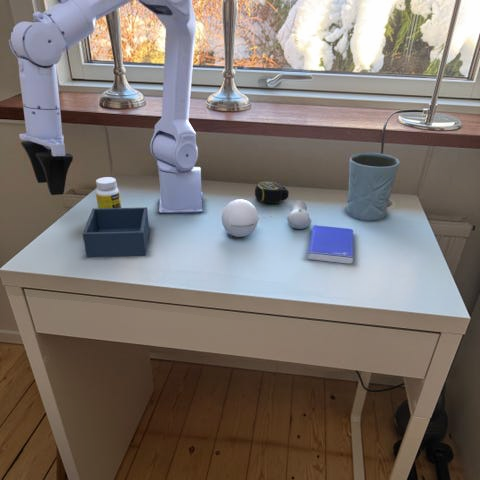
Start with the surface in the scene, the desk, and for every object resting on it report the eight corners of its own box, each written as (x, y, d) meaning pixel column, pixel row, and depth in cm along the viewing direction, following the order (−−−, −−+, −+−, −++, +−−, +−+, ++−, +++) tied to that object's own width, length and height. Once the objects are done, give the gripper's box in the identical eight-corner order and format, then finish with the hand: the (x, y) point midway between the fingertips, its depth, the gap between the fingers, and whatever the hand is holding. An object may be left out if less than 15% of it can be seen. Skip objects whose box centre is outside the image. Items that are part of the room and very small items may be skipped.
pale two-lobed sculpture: (305, 237, 97) (282, 228, 97) (309, 221, 103) (288, 212, 103) (313, 220, 94) (290, 210, 94) (317, 204, 100) (295, 195, 100)
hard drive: (353, 256, 84) (353, 228, 94) (308, 251, 86) (313, 224, 96) (351, 264, 85) (352, 235, 95) (307, 259, 87) (312, 231, 96)
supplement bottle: (117, 224, 97) (111, 185, 93) (96, 222, 98) (89, 182, 93) (126, 215, 101) (121, 177, 96) (106, 213, 102) (100, 175, 97)
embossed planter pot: (396, 220, 102) (408, 165, 95) (353, 224, 100) (363, 168, 93) (374, 203, 110) (384, 151, 103) (334, 206, 108) (342, 153, 101)
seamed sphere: (219, 242, 91) (219, 207, 87) (223, 226, 97) (223, 192, 93) (270, 245, 91) (272, 209, 87) (271, 229, 97) (273, 195, 93)
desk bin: (149, 228, 96) (147, 207, 93) (145, 255, 87) (143, 232, 84) (96, 230, 95) (92, 208, 92) (86, 257, 86) (82, 233, 83)
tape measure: (289, 203, 109) (290, 187, 107) (264, 208, 106) (265, 192, 104) (273, 193, 114) (274, 178, 111) (249, 198, 111) (249, 182, 109)
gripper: (5, 99, 80) (16, 178, 87) (29, 114, 71) (39, 202, 78) (47, 100, 84) (54, 176, 91) (75, 115, 75) (81, 198, 82)
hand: (50, 188), depth 85 cm, fingers open, 7 cm apart
